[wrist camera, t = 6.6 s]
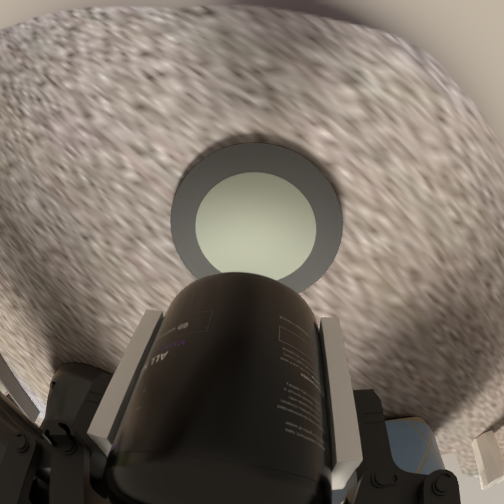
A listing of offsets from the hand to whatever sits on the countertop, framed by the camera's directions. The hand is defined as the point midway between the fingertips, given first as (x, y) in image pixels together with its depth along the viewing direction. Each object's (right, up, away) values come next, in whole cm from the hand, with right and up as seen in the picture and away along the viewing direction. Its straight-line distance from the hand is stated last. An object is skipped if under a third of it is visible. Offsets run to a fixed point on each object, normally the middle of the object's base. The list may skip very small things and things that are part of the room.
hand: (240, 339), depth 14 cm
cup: (+45, -32, +27) cm, 62 cm away
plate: (+1, +6, +11) cm, 12 cm away
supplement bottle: (0, 0, +1) cm, 1 cm away
